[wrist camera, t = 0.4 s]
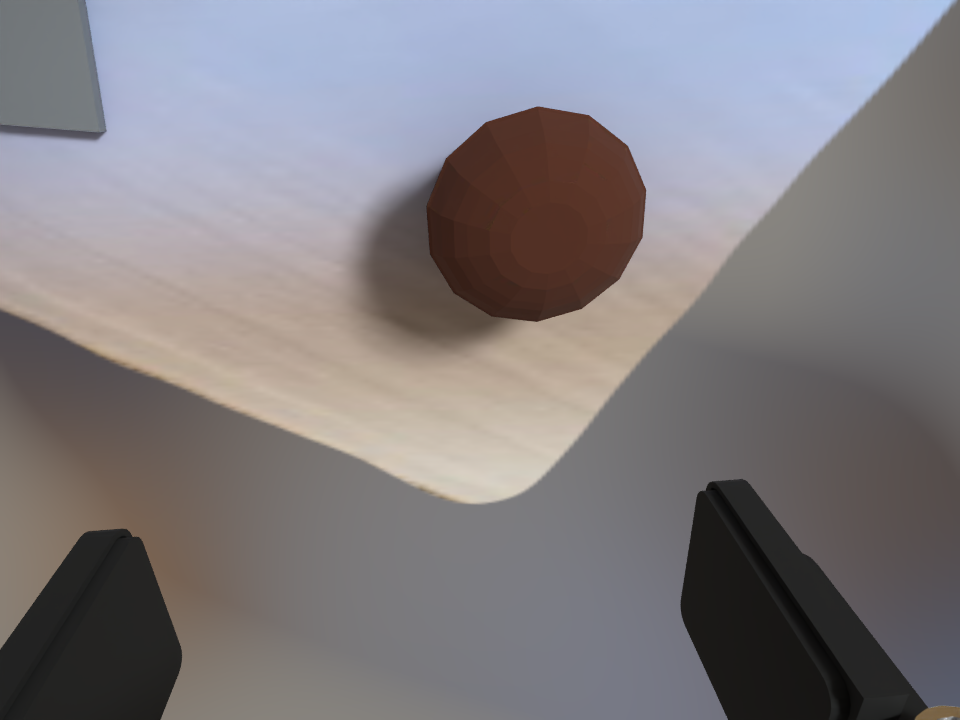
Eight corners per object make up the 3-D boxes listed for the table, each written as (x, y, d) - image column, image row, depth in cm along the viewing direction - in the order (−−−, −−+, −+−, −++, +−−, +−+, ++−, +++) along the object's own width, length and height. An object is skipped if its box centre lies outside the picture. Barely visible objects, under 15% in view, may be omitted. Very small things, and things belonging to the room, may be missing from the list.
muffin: (453, 303, 41) (462, 371, 32) (400, 135, 36) (393, 159, 27) (626, 253, 41) (683, 307, 32) (595, 75, 36) (652, 80, 27)
